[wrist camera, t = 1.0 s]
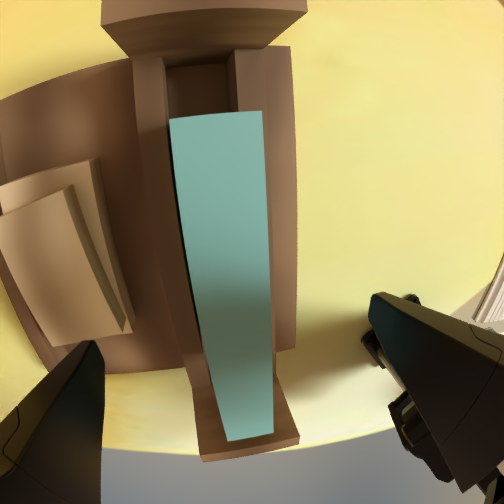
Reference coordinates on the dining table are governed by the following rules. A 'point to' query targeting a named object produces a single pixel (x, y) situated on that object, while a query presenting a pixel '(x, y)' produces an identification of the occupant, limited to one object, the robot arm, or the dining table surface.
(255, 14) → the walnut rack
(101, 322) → the upper offcut
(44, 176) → the board
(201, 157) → the teal sheet
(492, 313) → the baseboard molding
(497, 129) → the dining table surface
